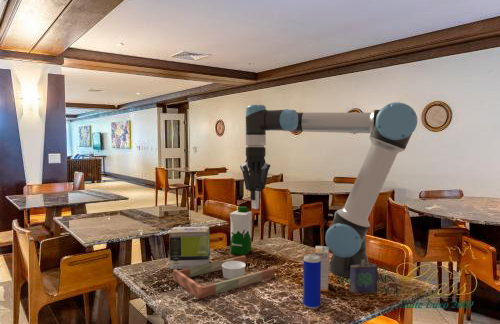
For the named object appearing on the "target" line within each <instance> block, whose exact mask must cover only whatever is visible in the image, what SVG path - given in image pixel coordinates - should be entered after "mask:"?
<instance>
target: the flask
mask: <svg viewBox="0 0 500 324" xmlns="http://www.w3.org/2000/svg"><path fill="white" fill-rule="evenodd" d="M378 268H379V266H378V265H377V264H375V263H372V262H371V263H366V262H365V260H364V259H362V262H361V264H359V265H351V266H350V278H349V293H351V294H354V295H355V294H356V295H358V294H363V295H364V294H369V293H370V294H373V293H374V294H376V293H377V292H378V273H379V272H378V271H379V270H378Z"/></svg>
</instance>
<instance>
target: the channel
mask: <svg viewBox="0 0 500 324" xmlns="http://www.w3.org/2000/svg"><path fill="white" fill-rule="evenodd" d="M229 261H240V262H243V263H245V264H246V263H247V256H246V255H240V256H236V257H230V258H226V259H223V260H218V261H214V262H213V261H212V262H209V264H204V265H200V266H195V267H191V268H187V269H172V280H173V281H174V282H176V283H177V284H178V285H180V286H181V287H182V288H184V289H185V290H187V291H188V292H190V294H192V295H194V297H196V298H197V299H202V298H206V297H208V296H213V295H216V294H220V293H223V292H227V291H229V290H234V289H237V288H240V287H244V286H247V285H251V284H255V283H258V282H261V281H265V280H269V279H272V278H275V272H276V271H275V268H274V267H271V268H265V269H263V270H260V271H256V272H252V273H248V274H245V275H244V276H240V277H236V278H232V279H226V280H222V281H218V282H214V283H209V284H207V285H204V286H202V285H201V284H199V283H197V281H195V280H193V279H192V277H195V276H200V275H204V274H207V273H213V272H216V271H221V270H223V269H222V264H223V263H225V262H229Z"/></svg>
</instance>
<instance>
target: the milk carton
mask: <svg viewBox="0 0 500 324" xmlns="http://www.w3.org/2000/svg"><path fill="white" fill-rule="evenodd" d="M252 217H253V212H252V211H250V210H248V207H247V206H243V205H241V206H238V210H235V211H232V212H230V213H229V218H230V254H232V255H233V254H235V255H240V256H246V255H248V253H250V252H251V251H252V220H253V219H252Z"/></svg>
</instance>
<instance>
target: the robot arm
mask: <svg viewBox="0 0 500 324" xmlns="http://www.w3.org/2000/svg"><path fill="white" fill-rule="evenodd" d="M245 109H246V110H245V145H246V147H245V163H244V164H240V166H239V167H240V170H241V171H242V178H243V181H244V186H245V190H246V191H249V192H250V195H249V196H250V197H249V198H250V201H251V209H254V210H260V200H261V192H263V190H265V188H266V185H267V184H266V183H267V179H268V175H269V170H270V168H271V164H269V163H267V162H266V151H267V150H266V145H267V143H266V142H267V140H266V138H267V137H266V136H267V135H266V132H267V131H269V132H270V131H277V132H279V131H283V132H289V133H290V132H291V133H296V132H297V133H298V132H300V133H301V132H306V133H310V132H311V133H341V134H347V133H348V134H349V133H350V134H370V135H369V140H370V141H371V142H370V143H371V145H370V146H369V149H368V152H367V153H366V157H365V159H364V161H363V162H362V165H361V168H360V170H359V172H358V174H357V177H356V178H355V181H354V184H353V186H352V188H351V190H350V192H349V195H348V197H347V199H346V201H345V204H344V206H343V207H342V208H339V209H338V210H336V211H335V212H334V216H333V220H332V222H331V224H330V226H329V228H328V229H327V230H326V232H325V236H324V237H325V239H324V240H325V245H326V246H327V247H328V249H329V251H330V252H331V253H332V255H331V258H330V260H329V272H331V273H333V274H334V275H336V276H339V277H344V278H348V279H350V266H351V265H359V264H361V262H362V259H364V260H365V262H366V263H369V260H368V258H369V257H368V254H367V249H366V248H367V233H368V231H369V228H370V227H371V225H370V221H369V217H370V215H371V212H372V211H373V209H374V208H373V207H374V206H375V204H376V202H377V199H378V197H379V195H380V192H381V191H382V188H383V186H384V184H385V182H386V179H387V177H388V175H389V173H390V171H391V168H392V166H393V164H394V163H395V160H396V158H397V155H398V154H399V153H401V152H404V151H405V150H406V149H407V146H408V143H410V142H409V141H410V139H411V137H412V135H413V133H414V131H416V127H417V126H418V125H417V124H418V115H417V113H416V111H415V109H413V107H412V106H410V105H409V104H406V103H403V102H398V101H397V102H391V103H388V104H386V105H384V106H383V107H382V108H381V109H374V110H372V111H370V112H302V111H301V112H299V111H296V110H295V109H288V108H284V109H272V110H269V109H267V107H266V105H264V104H250V105H248V106H246V108H245ZM369 264H370V263H369Z"/></svg>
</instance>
